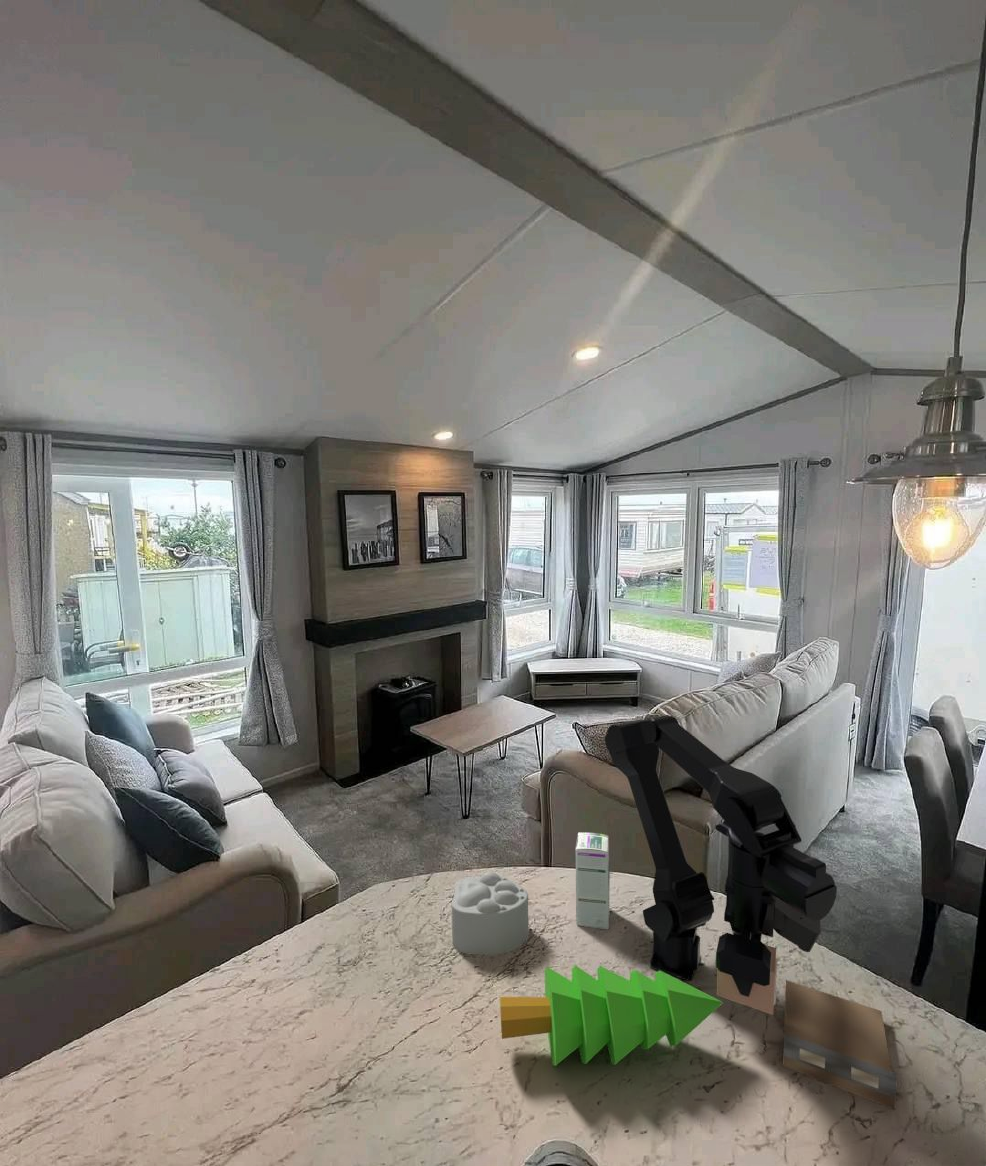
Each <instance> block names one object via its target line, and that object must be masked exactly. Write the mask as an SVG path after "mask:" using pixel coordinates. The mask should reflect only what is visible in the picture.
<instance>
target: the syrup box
mask: <svg viewBox="0 0 986 1166" xmlns="http://www.w3.org/2000/svg"><path fill="white" fill-rule="evenodd" d="M609 840H610V839H609V835H608V834H605V833H604V834H603V833H597V832H581V831H580V832H578V833H577V838H576V843H575V900H576V901H575V904H576V905H575V906H576V907H575V908H576V909H575V911H576V912H575V913H576V917H575V918H576V919H575V921H576V925H577V926H580V927H586V928H594V929H600V930H601V929H603V930H609V926H610V884H611V883H610V882H611V881H610V876H611V875H610V848H609V847H610V841H609Z"/></svg>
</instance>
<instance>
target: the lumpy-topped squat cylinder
mask: <svg viewBox="0 0 986 1166" xmlns="http://www.w3.org/2000/svg"><path fill="white" fill-rule="evenodd" d="M453 887H454V889H453V890H454V892H453V893H454V895H453V898H452V901H451V937H452V938H451V940H452V947H453V949H455V950H457V951H458V952H460V953H463V954H469V955H479V956H480V955H482V956H483V955H484V956H486V955H487V956H491V955H494V956H495V955H503V954H506V953H509V952H511V951H513V950H516V949H518V948H519V947H521V946H522V945H523V944H524V943H525V942H526V941H527V939H528V938H529V894H528V891H527V890H526V889H525V887H523V886H522V885H521V884H520V883H518V882H517V881H514V880H512V879H509V878H506V877H503V876H502V877H501V876H500V875H498V874H497V873H495V872H493V871H486V872H484V873H483V874H481V875H479V876H478V875H476V876H475V875H474V876H466V877H462V878H461V879H459V880H457V881H456V883H455V885H454V886H453Z"/></svg>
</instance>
